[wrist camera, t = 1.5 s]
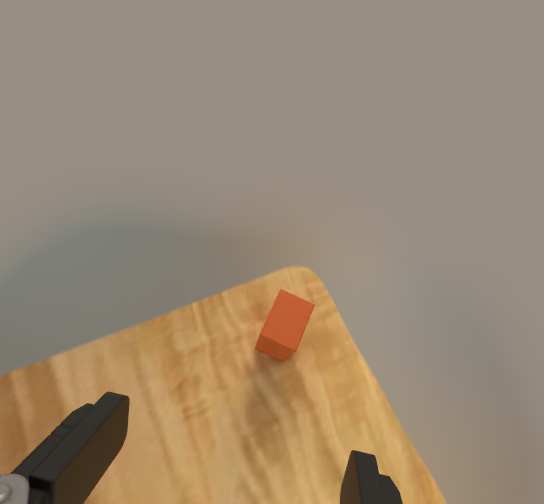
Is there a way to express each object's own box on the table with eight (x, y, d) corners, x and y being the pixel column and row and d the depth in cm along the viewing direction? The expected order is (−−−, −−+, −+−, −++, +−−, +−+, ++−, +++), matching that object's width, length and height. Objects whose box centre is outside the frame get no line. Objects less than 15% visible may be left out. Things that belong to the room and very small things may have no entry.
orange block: (282, 361, 35) (295, 351, 26) (254, 348, 35) (259, 334, 27) (297, 325, 36) (314, 304, 28) (271, 312, 37) (280, 288, 28)
